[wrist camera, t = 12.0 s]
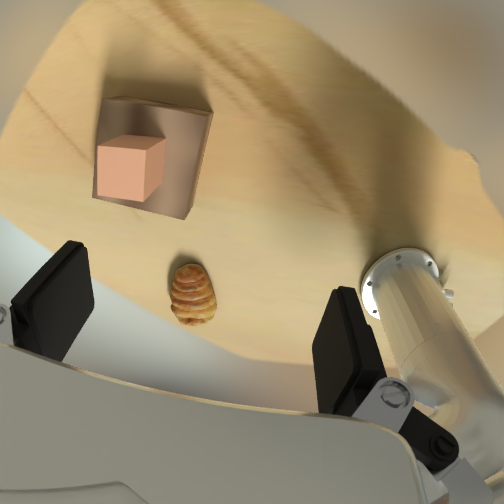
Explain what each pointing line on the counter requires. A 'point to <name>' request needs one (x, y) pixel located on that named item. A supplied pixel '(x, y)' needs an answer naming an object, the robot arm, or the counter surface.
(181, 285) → the pastry
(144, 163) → the terracotta block
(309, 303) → the counter surface
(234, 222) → the counter surface
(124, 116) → the taupe streaked block
